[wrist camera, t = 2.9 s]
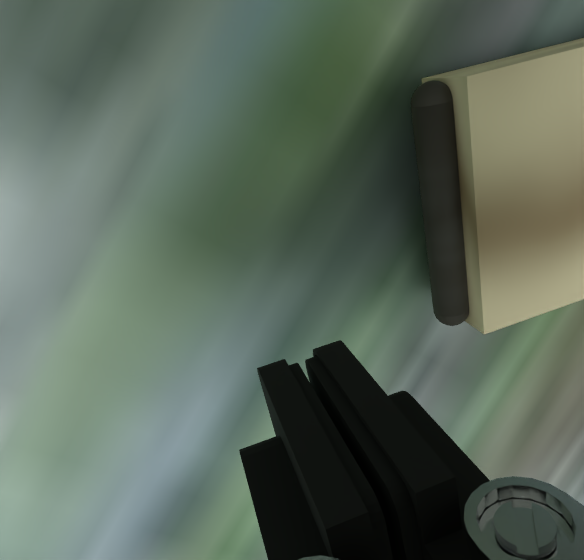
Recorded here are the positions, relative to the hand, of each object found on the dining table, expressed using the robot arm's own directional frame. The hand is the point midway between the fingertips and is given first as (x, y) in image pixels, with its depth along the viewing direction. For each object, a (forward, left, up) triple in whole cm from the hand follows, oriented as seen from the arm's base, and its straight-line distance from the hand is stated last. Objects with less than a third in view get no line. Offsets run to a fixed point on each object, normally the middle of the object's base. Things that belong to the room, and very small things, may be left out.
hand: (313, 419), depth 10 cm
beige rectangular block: (-1, +12, -9) cm, 15 cm away
